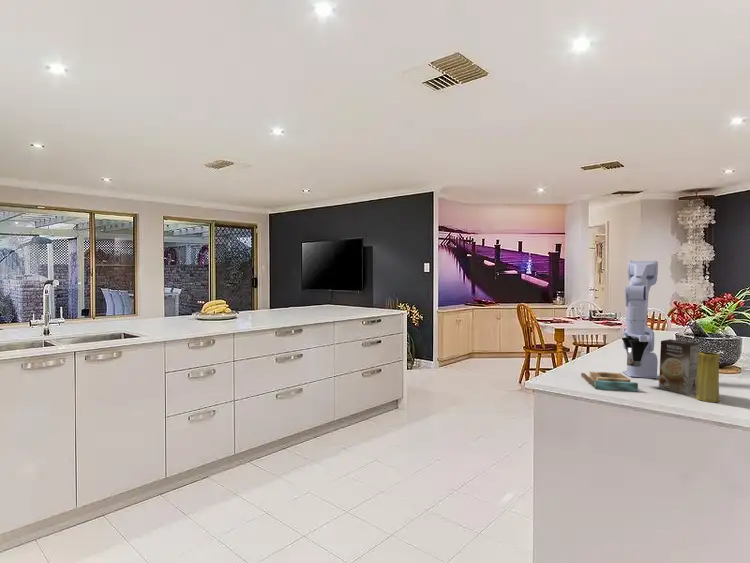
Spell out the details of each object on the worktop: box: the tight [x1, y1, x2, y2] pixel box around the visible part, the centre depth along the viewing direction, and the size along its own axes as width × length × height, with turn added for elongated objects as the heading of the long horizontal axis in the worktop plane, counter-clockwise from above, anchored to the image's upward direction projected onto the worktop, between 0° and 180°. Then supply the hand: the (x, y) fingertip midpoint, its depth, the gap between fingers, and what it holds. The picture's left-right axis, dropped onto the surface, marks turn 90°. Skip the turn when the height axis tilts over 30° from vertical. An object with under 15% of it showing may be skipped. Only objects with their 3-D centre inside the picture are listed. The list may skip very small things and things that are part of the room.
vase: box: [694, 351, 720, 403], centre depth 140 cm, size 6×6×14 cm
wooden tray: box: [588, 371, 631, 382], centre depth 157 cm, size 10×10×3 cm
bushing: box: [626, 347, 642, 367], centre depth 158 cm, size 4×4×6 cm
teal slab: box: [580, 372, 639, 392], centre depth 159 cm, size 13×18×2 cm
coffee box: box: [658, 338, 700, 395], centre depth 151 cm, size 9×6×16 cm
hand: (634, 359), depth 158 cm, fingers closed on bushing, 4 cm apart
